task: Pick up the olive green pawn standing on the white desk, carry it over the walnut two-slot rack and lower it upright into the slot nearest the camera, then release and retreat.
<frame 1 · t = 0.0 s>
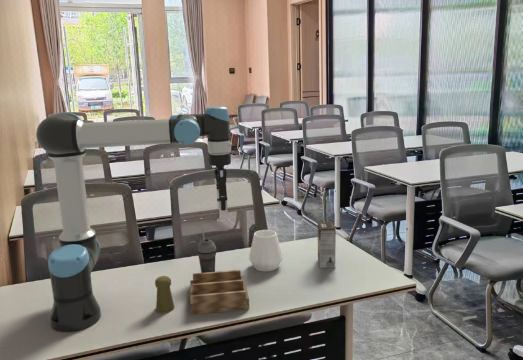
hand: (222, 213, 169), 28 cm above the table, fingers open, 13 cm apart
cup: (266, 267, 193), on the table
beverage cup: (208, 279, 183), on the table
coffee box: (326, 263, 194), on the table
rack: (218, 299, 167), on the table
olive green pawn: (165, 308, 162), on the table
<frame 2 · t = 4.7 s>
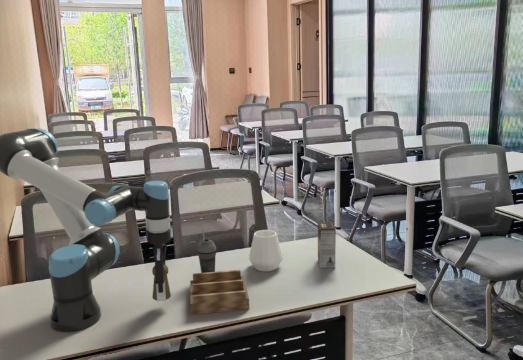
hand: (162, 295, 161), 5 cm above the table, fingers closed on olive green pawn, 6 cm apart
olive green pawn: (161, 297, 161), point 4 cm above the table, touching gripper
everything else where it was.
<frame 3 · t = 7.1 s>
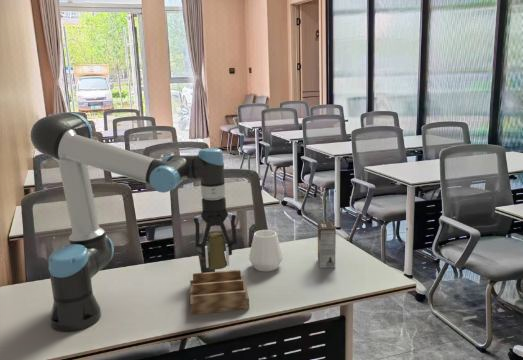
hand: (217, 265, 160), 14 cm above the table, fingers closed on olive green pawn, 6 cm apart
olive green pawn: (217, 266, 160), point 14 cm above the table, touching gripper
everything else where it was.
when the fingers open (3 cm above the table, at t = 9.7 s): olive green pawn drops 2 cm, resting on rack.
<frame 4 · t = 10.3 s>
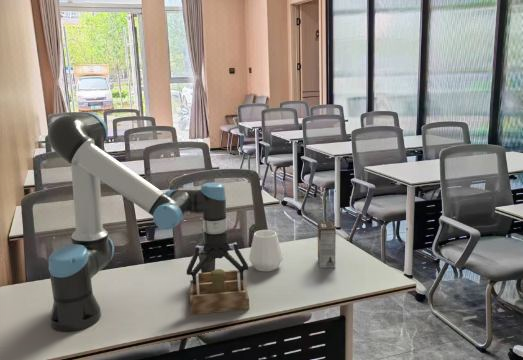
hand: (218, 291, 162), 5 cm above the table, fingers open, 13 cm apart
olive green pawn: (219, 301, 163), point 1 cm above the table, touching rack
everything else where it was.
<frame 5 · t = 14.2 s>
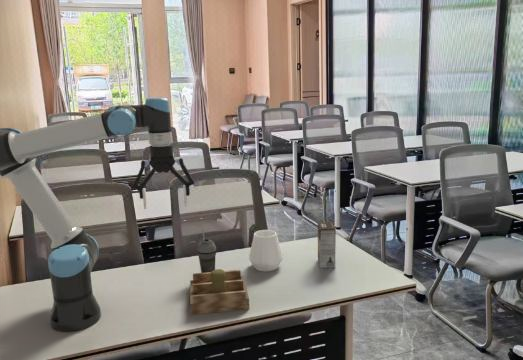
hand: (165, 206, 167), 32 cm above the table, fingers open, 13 cm apart
nothing on the table moved.
at the end: olive green pawn inside the target area on the rack (0.2 cm from its centre), point 1.0 cm above the rack's base; olive green pawn tilted 0°; the gripper is holding nothing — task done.
